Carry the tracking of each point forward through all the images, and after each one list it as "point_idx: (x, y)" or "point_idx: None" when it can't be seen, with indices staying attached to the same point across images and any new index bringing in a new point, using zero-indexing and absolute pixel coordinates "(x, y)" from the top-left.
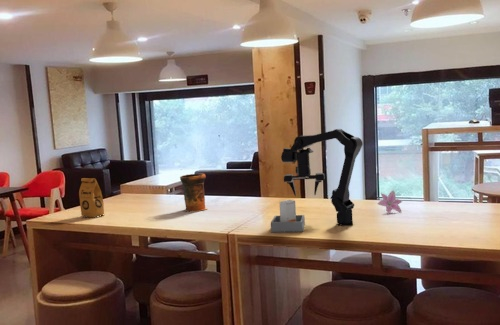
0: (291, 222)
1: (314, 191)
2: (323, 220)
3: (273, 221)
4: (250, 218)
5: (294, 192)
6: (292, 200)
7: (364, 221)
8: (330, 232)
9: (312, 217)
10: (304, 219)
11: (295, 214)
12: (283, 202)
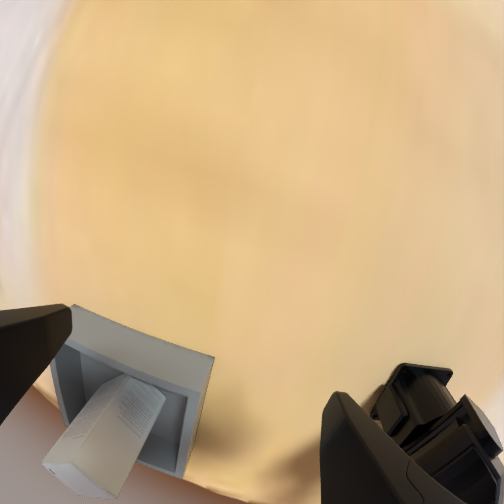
0: (139, 462)
1: (320, 470)
2: (348, 298)
3: (67, 410)
4: (3, 122)
5: (36, 365)
6: (98, 490)
7: (485, 366)
8: (294, 473)
9: (302, 180)
10: (206, 381)
11: (143, 442)
12: (65, 484)
